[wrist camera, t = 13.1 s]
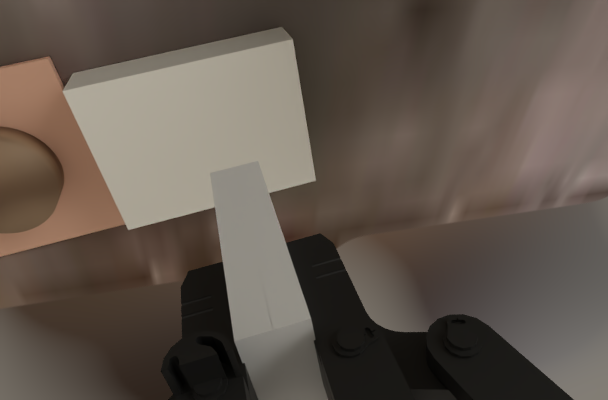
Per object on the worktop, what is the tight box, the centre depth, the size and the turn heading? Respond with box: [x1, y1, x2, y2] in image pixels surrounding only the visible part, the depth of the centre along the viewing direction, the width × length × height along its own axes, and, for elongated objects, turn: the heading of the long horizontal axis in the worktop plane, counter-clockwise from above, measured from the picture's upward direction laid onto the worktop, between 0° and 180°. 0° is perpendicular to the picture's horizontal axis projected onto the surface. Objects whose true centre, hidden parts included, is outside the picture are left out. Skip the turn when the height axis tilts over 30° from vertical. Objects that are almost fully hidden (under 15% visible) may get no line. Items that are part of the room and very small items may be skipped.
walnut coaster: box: [0, 126, 64, 234], centre depth 35 cm, size 8×8×2 cm
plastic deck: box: [63, 27, 316, 230], centre depth 37 cm, size 12×16×4 cm
